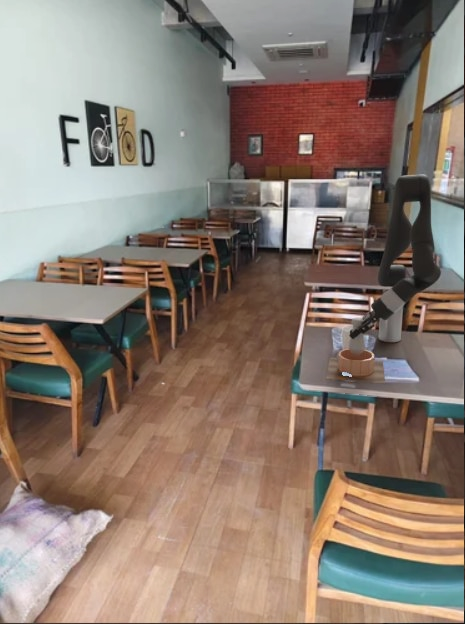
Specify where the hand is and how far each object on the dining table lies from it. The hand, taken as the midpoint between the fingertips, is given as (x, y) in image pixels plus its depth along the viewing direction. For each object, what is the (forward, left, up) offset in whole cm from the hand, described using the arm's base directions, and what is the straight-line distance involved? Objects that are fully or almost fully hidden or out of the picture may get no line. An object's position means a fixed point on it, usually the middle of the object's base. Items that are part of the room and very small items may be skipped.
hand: (351, 335), depth 156 cm
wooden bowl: (0, +2, -13) cm, 13 cm away
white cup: (-20, 0, -14) cm, 25 cm away
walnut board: (0, +2, -14) cm, 14 cm away
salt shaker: (0, +2, -7) cm, 7 cm away
